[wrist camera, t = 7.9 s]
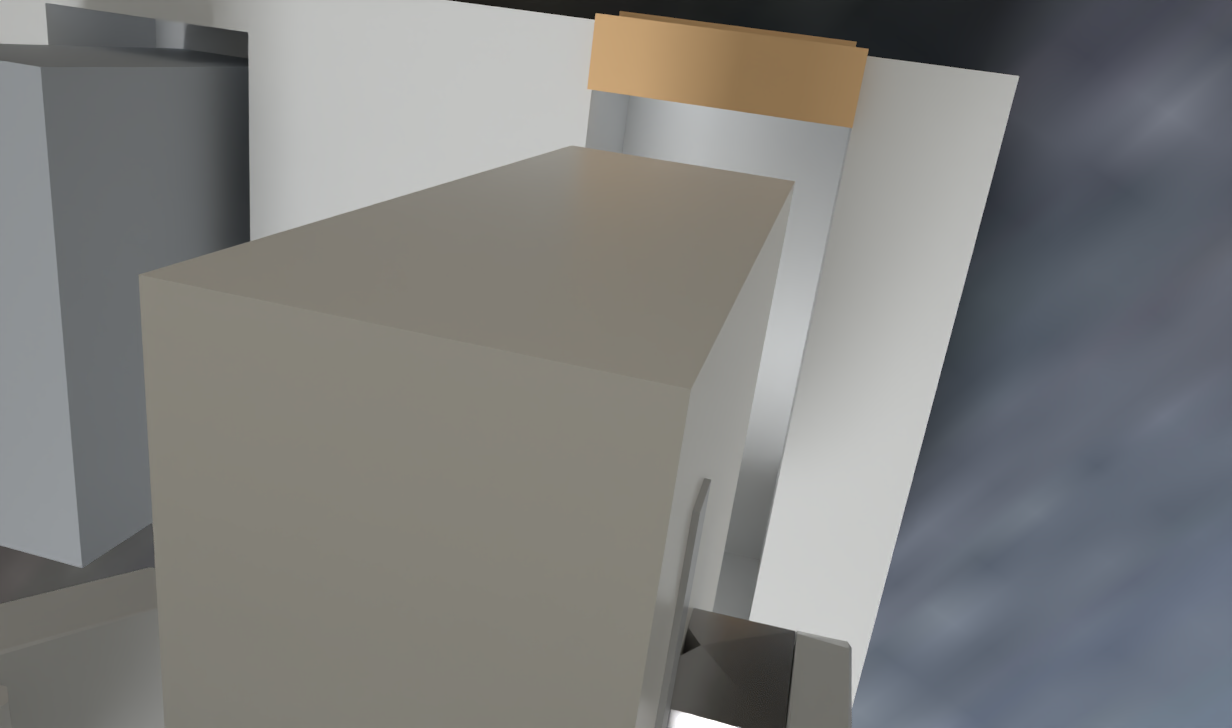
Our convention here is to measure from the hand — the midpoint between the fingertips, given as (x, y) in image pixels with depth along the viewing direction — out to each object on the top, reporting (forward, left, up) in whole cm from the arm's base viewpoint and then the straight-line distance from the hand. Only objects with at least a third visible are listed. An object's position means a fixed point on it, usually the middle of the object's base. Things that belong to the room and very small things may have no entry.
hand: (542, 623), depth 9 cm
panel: (0, 0, -4) cm, 4 cm away
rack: (0, +6, -12) cm, 13 cm away
